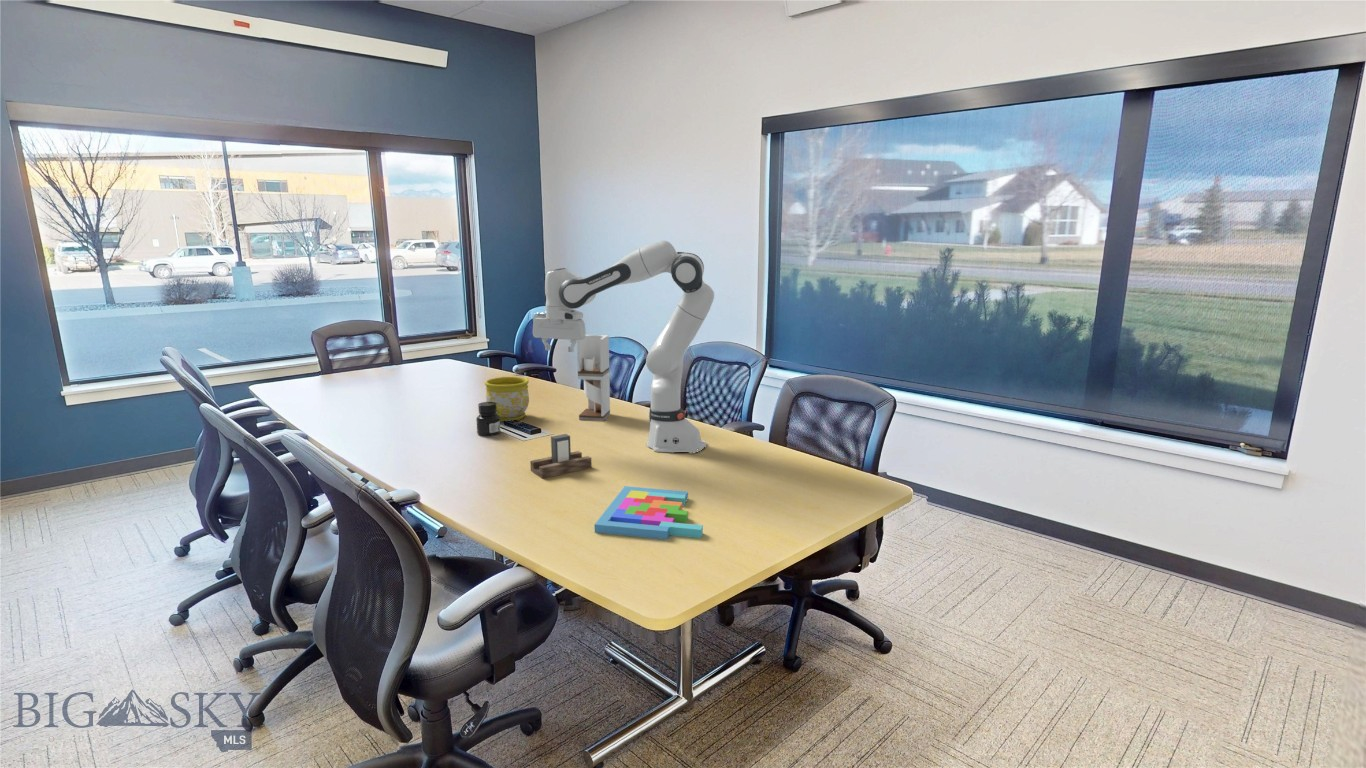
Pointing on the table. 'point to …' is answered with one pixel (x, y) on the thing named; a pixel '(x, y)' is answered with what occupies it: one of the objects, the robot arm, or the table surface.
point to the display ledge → (560, 465)
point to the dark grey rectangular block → (560, 448)
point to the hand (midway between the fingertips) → (559, 350)
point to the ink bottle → (488, 419)
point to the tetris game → (648, 514)
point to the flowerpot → (508, 396)
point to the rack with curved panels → (595, 375)
